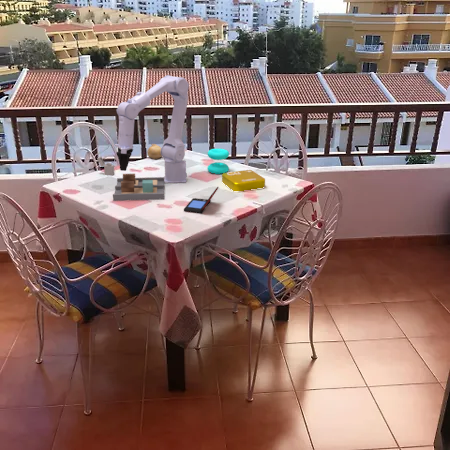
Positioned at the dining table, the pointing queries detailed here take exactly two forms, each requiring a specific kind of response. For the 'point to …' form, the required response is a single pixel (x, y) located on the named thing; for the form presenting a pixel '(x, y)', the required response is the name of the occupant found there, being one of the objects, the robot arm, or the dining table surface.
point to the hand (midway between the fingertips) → (124, 168)
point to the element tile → (243, 180)
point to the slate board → (159, 195)
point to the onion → (154, 152)
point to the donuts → (218, 166)
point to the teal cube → (147, 186)
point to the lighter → (107, 167)
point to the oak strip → (138, 190)
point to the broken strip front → (130, 178)
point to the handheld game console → (198, 204)
